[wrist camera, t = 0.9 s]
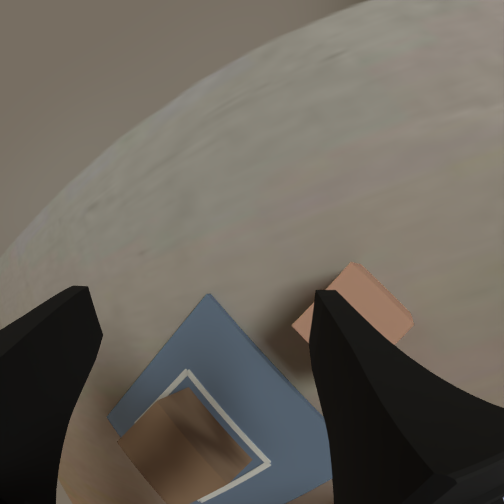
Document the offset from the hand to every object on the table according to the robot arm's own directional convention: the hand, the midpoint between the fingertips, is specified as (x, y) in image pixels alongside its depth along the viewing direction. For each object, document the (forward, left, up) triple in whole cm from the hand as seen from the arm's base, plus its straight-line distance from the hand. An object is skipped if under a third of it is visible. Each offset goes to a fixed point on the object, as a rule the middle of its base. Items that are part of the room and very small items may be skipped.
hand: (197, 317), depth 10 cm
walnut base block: (-2, +16, -12) cm, 21 cm away
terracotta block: (-3, -2, -13) cm, 13 cm away
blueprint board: (-3, +15, -13) cm, 20 cm away
